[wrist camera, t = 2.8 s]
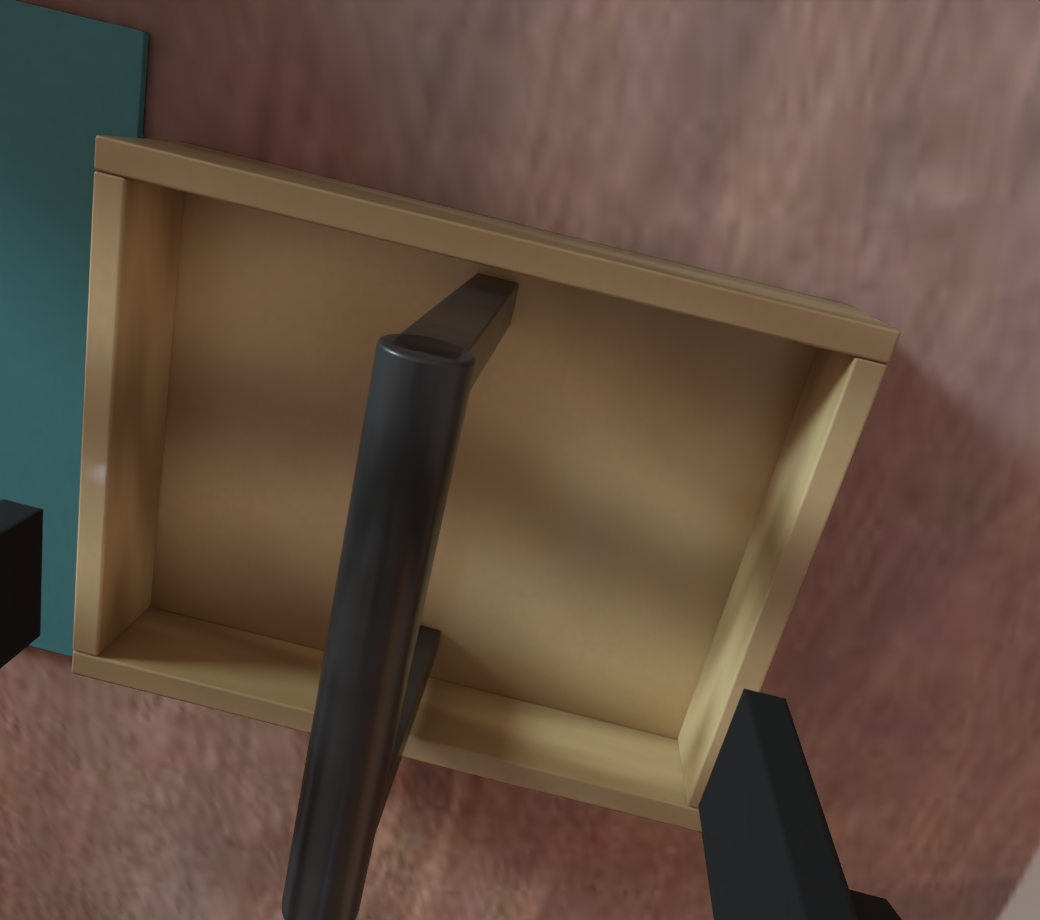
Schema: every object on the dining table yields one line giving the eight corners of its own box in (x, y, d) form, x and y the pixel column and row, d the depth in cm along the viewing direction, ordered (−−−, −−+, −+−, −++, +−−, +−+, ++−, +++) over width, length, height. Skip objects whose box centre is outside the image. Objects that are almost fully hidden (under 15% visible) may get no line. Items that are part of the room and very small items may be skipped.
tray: (690, 744, 27) (747, 1104, 17) (142, 606, 28) (-145, 874, 17) (851, 305, 22) (1080, 423, 12) (178, 141, 23) (-199, 109, 12)
